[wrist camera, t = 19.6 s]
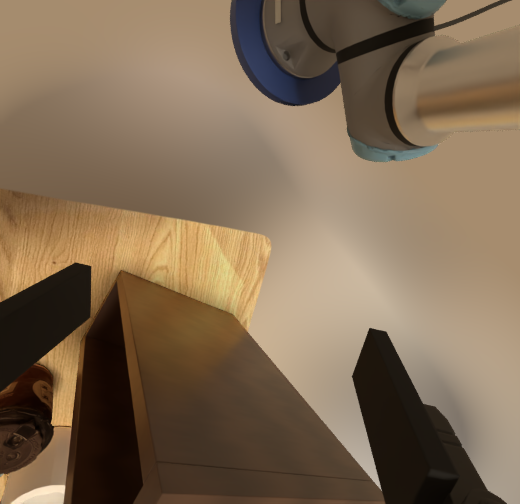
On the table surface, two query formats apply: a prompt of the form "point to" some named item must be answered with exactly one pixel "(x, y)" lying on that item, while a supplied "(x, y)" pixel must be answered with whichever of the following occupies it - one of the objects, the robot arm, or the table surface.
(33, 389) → the coffee cup
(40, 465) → the mug
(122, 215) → the table surface
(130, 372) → the open wooden cubby
